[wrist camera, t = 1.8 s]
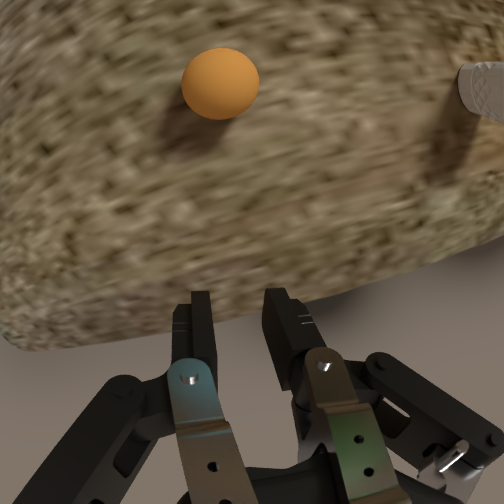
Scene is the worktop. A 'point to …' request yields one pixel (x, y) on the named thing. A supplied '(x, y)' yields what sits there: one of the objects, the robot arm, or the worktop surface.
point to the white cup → (483, 89)
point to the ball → (220, 83)
